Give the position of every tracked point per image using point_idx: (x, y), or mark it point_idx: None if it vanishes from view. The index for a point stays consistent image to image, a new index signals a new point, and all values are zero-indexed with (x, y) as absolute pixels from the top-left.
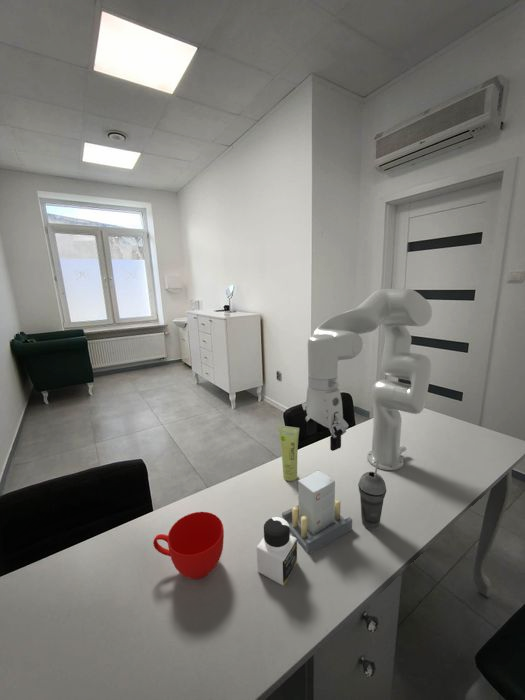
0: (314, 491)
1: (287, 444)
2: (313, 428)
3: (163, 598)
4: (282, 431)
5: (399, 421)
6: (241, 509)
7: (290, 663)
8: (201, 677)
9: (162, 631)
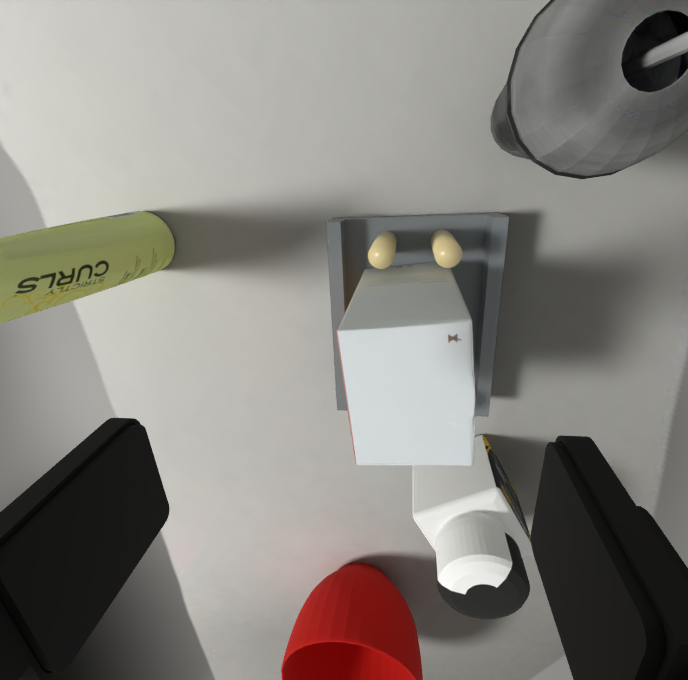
0: (471, 459)
1: (19, 306)
2: (111, 515)
3: None
4: None
5: None
6: (241, 454)
7: None
8: (551, 644)
9: (447, 655)
